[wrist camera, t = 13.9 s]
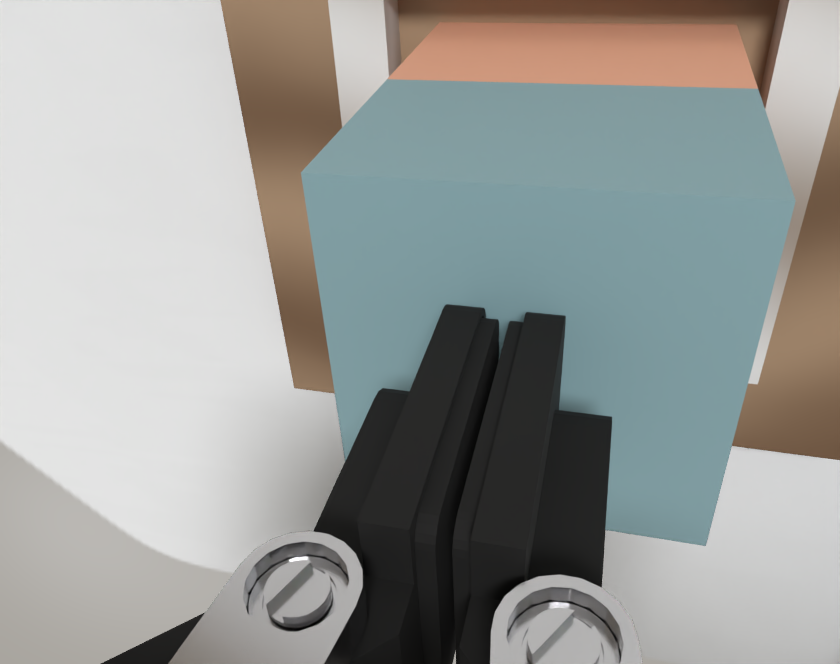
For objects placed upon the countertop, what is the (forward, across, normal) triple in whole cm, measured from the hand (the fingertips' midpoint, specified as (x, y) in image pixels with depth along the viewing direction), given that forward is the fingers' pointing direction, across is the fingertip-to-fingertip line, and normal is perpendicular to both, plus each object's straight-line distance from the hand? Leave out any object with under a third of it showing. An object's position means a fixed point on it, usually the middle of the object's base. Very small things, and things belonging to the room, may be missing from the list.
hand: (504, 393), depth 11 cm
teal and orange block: (+8, 0, 0) cm, 8 cm away
